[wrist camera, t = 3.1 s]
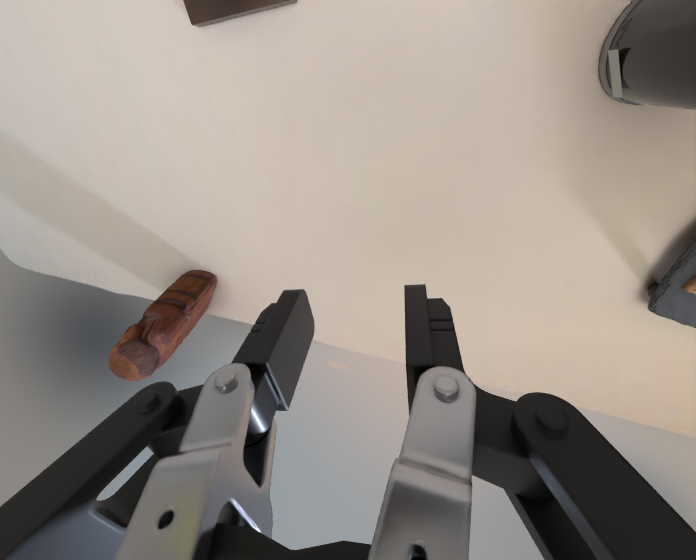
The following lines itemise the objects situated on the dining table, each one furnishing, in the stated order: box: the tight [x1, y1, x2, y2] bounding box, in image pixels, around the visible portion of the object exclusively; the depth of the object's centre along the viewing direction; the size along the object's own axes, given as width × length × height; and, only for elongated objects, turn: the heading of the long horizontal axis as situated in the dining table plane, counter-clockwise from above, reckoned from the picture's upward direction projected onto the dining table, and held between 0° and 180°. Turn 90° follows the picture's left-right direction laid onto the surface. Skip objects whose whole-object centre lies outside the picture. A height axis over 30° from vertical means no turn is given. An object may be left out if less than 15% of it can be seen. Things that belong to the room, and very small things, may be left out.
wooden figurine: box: [108, 271, 216, 381], centre depth 45 cm, size 12×6×18 cm, turn 149°
